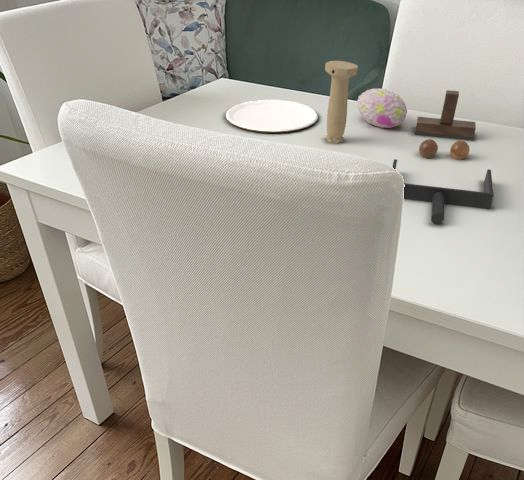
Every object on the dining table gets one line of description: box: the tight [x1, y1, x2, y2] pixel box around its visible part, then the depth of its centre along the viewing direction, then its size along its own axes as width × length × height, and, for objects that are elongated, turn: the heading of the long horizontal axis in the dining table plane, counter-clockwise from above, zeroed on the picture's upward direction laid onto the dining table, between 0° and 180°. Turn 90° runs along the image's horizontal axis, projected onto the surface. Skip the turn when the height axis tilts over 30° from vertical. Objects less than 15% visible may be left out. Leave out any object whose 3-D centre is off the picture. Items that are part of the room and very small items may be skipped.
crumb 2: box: [449, 140, 470, 161], centre depth 112 cm, size 4×4×4 cm
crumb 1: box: [418, 138, 439, 159], centre depth 112 cm, size 4×4×4 cm
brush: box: [414, 89, 477, 142], centre depth 119 cm, size 12×4×9 cm, turn 75°
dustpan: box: [392, 158, 495, 225], centre depth 98 cm, size 17×19×3 cm
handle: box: [324, 60, 359, 144], centre depth 114 cm, size 5×6×15 cm
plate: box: [225, 99, 319, 134], centre depth 129 cm, size 21×21×1 cm
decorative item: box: [356, 87, 408, 129], centre depth 125 cm, size 9×11×10 cm
